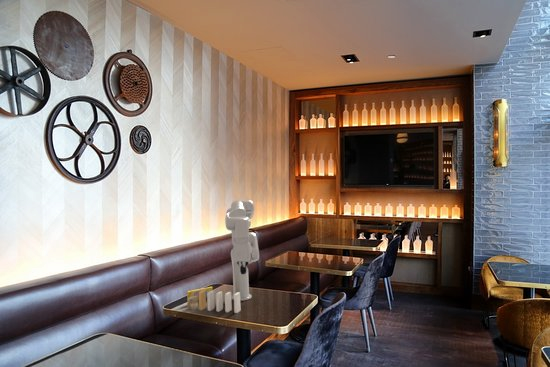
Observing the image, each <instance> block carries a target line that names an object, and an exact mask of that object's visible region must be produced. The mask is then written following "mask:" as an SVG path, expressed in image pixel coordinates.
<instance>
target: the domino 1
mask: <svg viewBox="0 0 550 367" xmlns="http://www.w3.org/2000/svg"><path fill="white" fill-rule="evenodd" d="M206 308H207V302H206V293H205V290H202V291H200V292H199V303H198V310H199V311H203V310H204V309H206Z"/></svg>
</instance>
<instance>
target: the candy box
mask: <svg viewBox="0 0 550 367" xmlns="http://www.w3.org/2000/svg"><path fill="white" fill-rule="evenodd" d="M213 288H214V287H213V286H207V287H204V288H198V289H197V288H196V289H193V290H188V291H186V294H187V300H186V301H187V302H186V304H187V306H188V298H190V297H192V296H197V297H198V304H199V292H200V291H202V290H205V293H206V303H207V293H208V292H210V291H214V289H213Z"/></svg>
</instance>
